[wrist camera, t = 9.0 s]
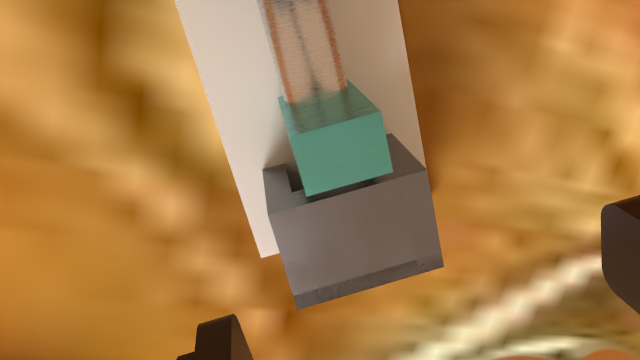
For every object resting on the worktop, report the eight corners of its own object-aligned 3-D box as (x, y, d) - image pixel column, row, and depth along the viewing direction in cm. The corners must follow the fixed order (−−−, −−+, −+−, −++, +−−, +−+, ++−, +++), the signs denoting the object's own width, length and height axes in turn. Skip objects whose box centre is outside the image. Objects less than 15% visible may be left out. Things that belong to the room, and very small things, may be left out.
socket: (262, 169, 27) (267, 215, 21) (391, 133, 27) (427, 169, 22) (287, 250, 29) (297, 310, 23) (407, 215, 29) (443, 266, 24)
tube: (233, -58, 22) (231, -70, 16) (311, -78, 22) (339, -98, 16) (311, 220, 28) (332, 290, 22) (373, 202, 28) (412, 267, 22)
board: (107, -208, 21) (64, -268, 16) (345, -266, 21) (379, -343, 16) (260, 249, 29) (265, 307, 24) (427, 201, 30) (466, 248, 25)
